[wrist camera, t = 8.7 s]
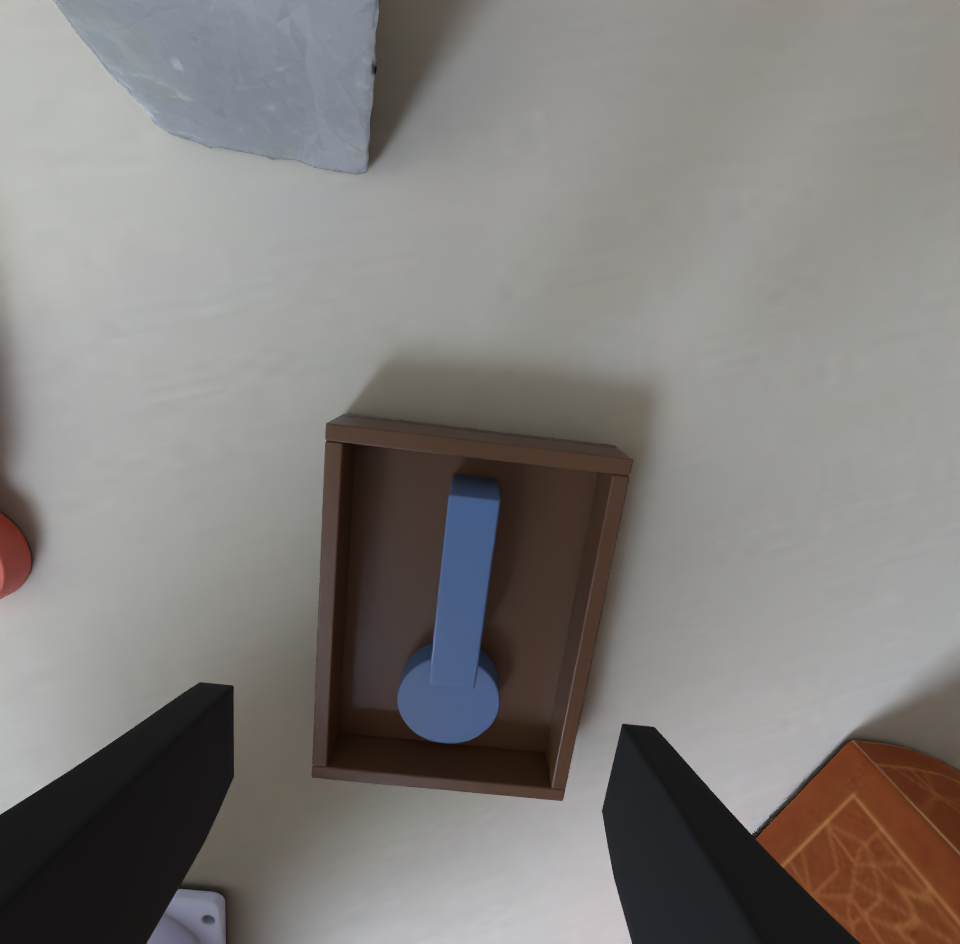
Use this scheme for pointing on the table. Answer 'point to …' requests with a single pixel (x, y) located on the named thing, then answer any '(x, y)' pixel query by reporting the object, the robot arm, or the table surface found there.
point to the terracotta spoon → (12, 557)
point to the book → (877, 844)
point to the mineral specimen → (245, 71)
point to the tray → (414, 592)
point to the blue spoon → (458, 626)
